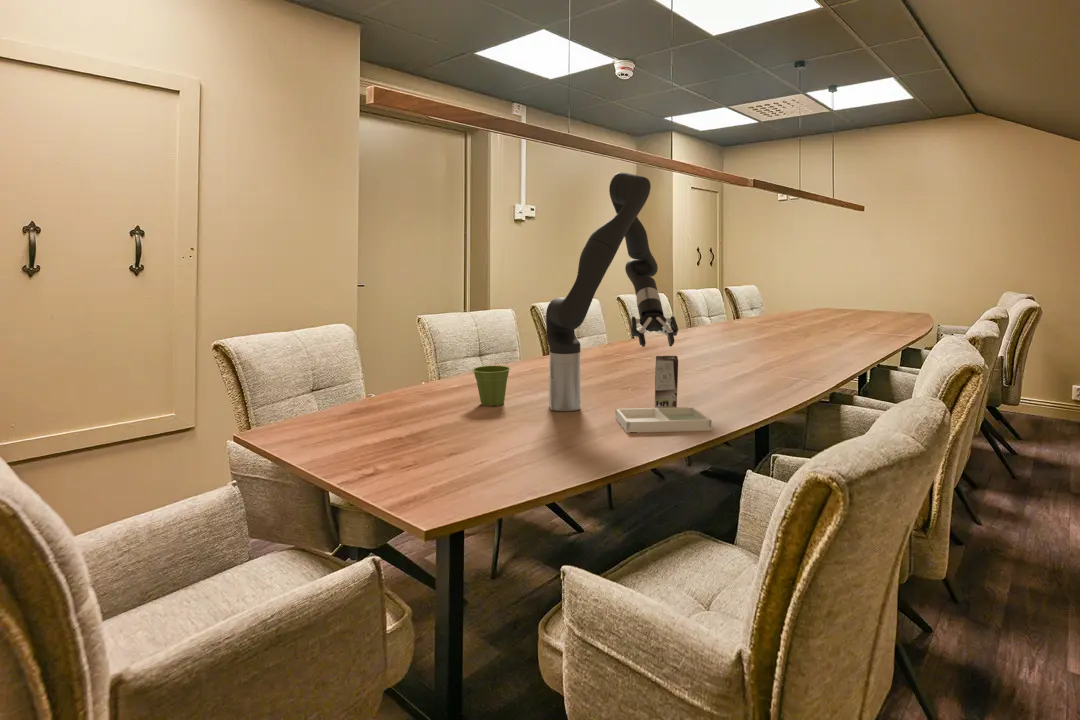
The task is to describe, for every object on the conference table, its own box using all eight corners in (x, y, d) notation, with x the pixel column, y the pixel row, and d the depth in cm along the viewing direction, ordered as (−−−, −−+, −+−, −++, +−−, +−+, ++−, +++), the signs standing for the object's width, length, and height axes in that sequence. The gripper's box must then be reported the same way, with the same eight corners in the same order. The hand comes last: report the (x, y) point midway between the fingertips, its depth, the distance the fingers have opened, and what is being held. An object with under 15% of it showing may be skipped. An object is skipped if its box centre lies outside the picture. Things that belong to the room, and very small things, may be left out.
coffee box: (676, 415, 176) (678, 360, 173) (654, 414, 177) (655, 359, 175) (676, 408, 185) (678, 355, 182) (654, 407, 186) (655, 354, 184)
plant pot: (478, 399, 199) (477, 365, 197) (514, 400, 197) (513, 365, 195) (468, 407, 187) (467, 371, 185) (507, 408, 186) (506, 372, 184)
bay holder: (626, 432, 159) (626, 422, 158) (615, 418, 173) (615, 408, 173) (711, 430, 161) (711, 420, 160) (693, 416, 175) (693, 406, 174)
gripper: (629, 297, 194) (637, 338, 185) (673, 297, 195) (683, 337, 186) (625, 312, 200) (632, 352, 191) (668, 312, 201) (677, 352, 192)
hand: (657, 345), depth 188 cm, fingers open, 8 cm apart
